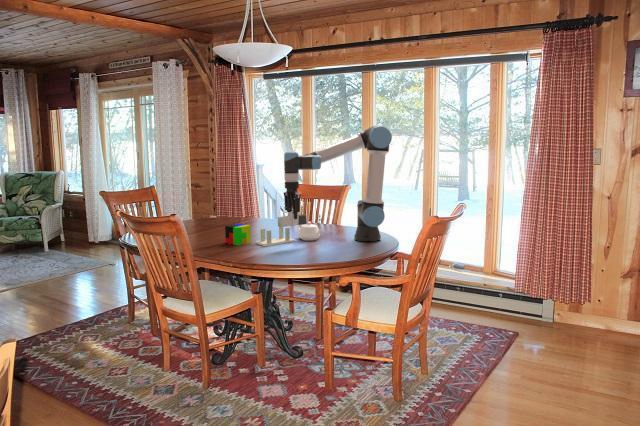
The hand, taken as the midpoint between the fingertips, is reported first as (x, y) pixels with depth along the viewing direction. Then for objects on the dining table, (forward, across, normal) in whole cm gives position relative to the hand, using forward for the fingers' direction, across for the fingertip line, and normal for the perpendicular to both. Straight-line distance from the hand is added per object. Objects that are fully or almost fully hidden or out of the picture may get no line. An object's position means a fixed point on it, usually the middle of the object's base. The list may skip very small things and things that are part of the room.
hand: (292, 224), depth 281 cm
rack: (+12, +15, +2) cm, 20 cm away
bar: (0, 0, 0) cm, 1 cm away
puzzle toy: (+12, +27, +19) cm, 35 cm away
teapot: (+13, +11, -19) cm, 25 cm away
